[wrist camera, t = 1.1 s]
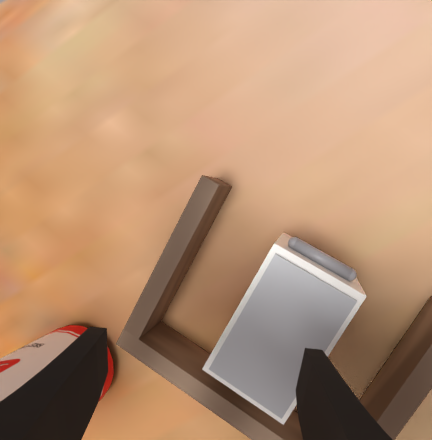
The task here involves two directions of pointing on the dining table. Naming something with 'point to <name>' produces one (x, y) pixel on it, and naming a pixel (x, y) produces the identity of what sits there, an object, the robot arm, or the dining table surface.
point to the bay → (197, 357)
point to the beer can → (40, 359)
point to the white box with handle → (284, 324)
